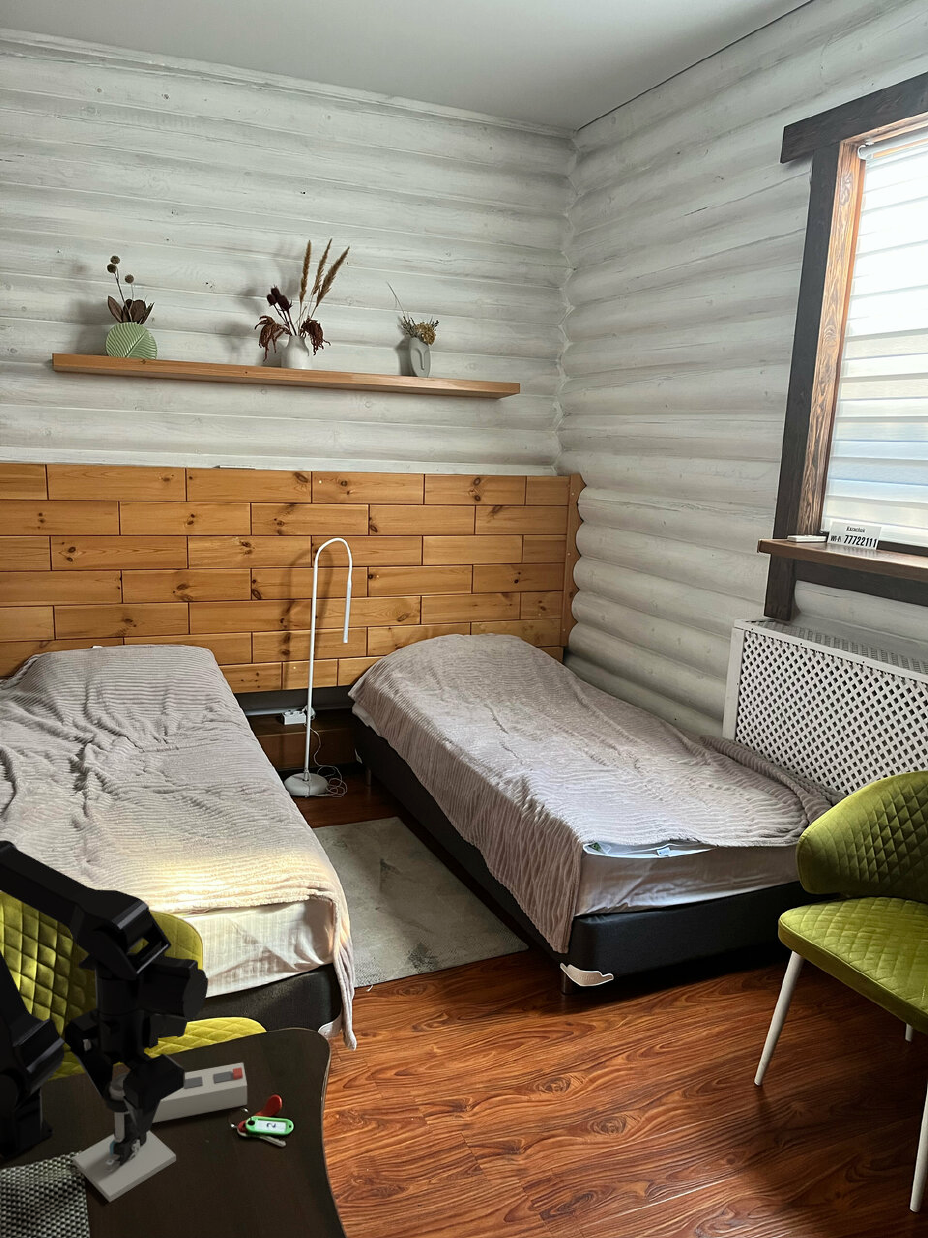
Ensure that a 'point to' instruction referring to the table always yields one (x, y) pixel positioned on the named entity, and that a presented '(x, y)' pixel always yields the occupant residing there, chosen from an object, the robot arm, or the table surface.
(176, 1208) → the table surface
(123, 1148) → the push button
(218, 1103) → the power strip
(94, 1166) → the rubber mat
